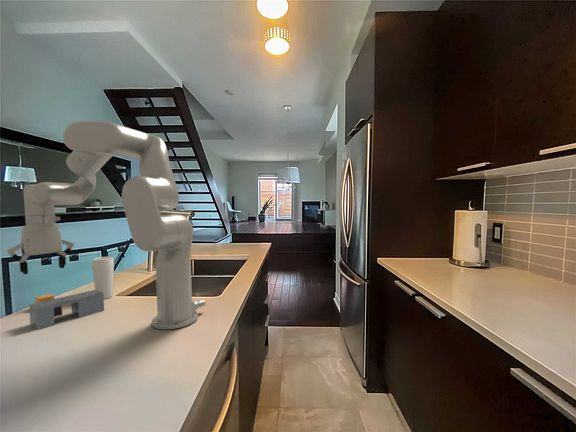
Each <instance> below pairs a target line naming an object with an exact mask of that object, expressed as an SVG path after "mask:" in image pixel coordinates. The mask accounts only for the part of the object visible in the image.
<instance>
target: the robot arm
mask: <svg viewBox="0 0 576 432" xmlns="http://www.w3.org/2000/svg"><path fill="white" fill-rule="evenodd" d="M62 138H63V143H64V144H65V146H66V147H67V148H68V149H69V150H71V151H72V152H70V154H69V155H68V156H67V157H66V159H65V160H66V161H65V162H66V166H67V167H68V169H70V170H71V172H73V173H74V174H76V175H77V176H79V178H78V179H77V180H76V181H75V182H74V183H69V182H55V181H52V182H51V181H44V182H39V183H36V184H35V183H34V184H33V183H32V184H31V183H30V184H25V185H24V186H23V201H24V203H23V204H24V215H25V216H24V218H25V225H22V227H21V233H20V235H21V236H20V243H19V244H17V245H14V246H13V247H10V248H8V249H6V253H8V255H9V256H10V257H11V258H12V259H14V260H15V261H17V262H19V271H20V273H22V274H23V275H27V274H29V268H28V261H26V260H28V259H29V257H31V256H39V255H45V254H52V253H56V254H57V255H59V256H58V267H59V268H60V269H64V268H65V266H66V265H67V263H66V262H67V260H66V257H67V255H68V254H69V253H70V252H71V251H72V249H73V247H74V245H75V244H74V242H72V241H67V240H64V239H62V235H61V231H60V227H59V224H58V223H57V222H58V221H61V216H56V214H55V212H56V211H55V206H76V205H80V204H82V203H83V202H85V201H86V200H87V199H88V198H90V196H91V195H92V194H93V193H94V191H95V189H96V185H97V176H96V174H97V173H98V172H99V171H100V170H101V168H103V166H104V165H106V163H107V162H108V161H109V160H110V159H111V158H112V157H114V156H119V157H123V158H130V159H135V160H136V159H137V160H140V161H139V165H138V169H139V174H140V175H137V176H133V177H130V178H129V179H128V180H126V181H125V183H124V185H123V187H122V191H121V202H122V207H123V210H124V213H125V218H126V221H127V225H128V228H129V229H128V230H129V232H130V236H131V239H132V240H133V242H134V245H136V247H137V248H138V249H140V250H141V251H144V252H156V251H158V253H157V254H156V259H155V283H156V285H155V286H156V307H157V308H156V311H157V315H156V316H154V317H153V318H152V320H151V326H152V327H153V328H155V329H157V330H175V329H180V328H184V327H187V326H189V325H191V324H193V323H195V322H196V321H197V320H198V317H199V313H198V312H197V310H198V309H199V308H202V307H204V306H206V301H205V299H202V300H199V301H197V300H193V297H192V296H193V295H192V265H191V264H192V263H191V262H192V261H191V260H192V259H191V258H192V256H191V255H192V254H191V253H192V245H193V244H192V243H193V237H194V228H193V225H192V223H191V221H190V219H188V217H186V216H185V215H182V214H178V213H177V214H176V213H170V214H169V213H167V214H166V213H165V214H164V213H163V214H160V212H163V211H164V212H167V211H170V210H173V209H175V208H177V206H178V205H179V202H180V196H179V191H178V187H177V183H176V180H175V177H174V173H173V170H172V167H171V163H170V158H169V151H168V148H167V145H166V143H165V142H164V141H163V139H162V138H161V137H160V136H157V135H154V134H151V133H148V132H147V133H146V132H145V131H144V132H143V131H141V130H137V129H133V128H131V127H127V126H126V125H122V124H119V123H115V122H111V121H101V120H99V121H95V120H94V121H89V120H87V121H86V120H84V121H81V120H79V121H74V122H72V123H70V124H69V125H68V126H66V127H65V129H64V132H63V134H62ZM63 245H66V248H65V249H64V250H63ZM18 250H20V252H21V256H19V255H18V254H17V253H16V251H18Z"/></svg>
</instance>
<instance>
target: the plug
mask: <svg viewBox="0 0 576 432" xmlns="http://www.w3.org/2000/svg"><path fill="white" fill-rule="evenodd" d="M52 299H55V295H54V294H52V293H46V294H41V295H36V296H35V297H34V301H35V302H34V304H35V303H39V302H43V301H48V300H52ZM62 315H63V306H59V307H55V308H54V318H55V317H59V316H62Z"/></svg>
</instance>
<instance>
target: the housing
mask: <svg viewBox="0 0 576 432" xmlns="http://www.w3.org/2000/svg"><path fill="white" fill-rule="evenodd" d="M104 300H105V299H104V295H103V292H101V291H98V290H95V289H93V290H89V291H84V292H79V293H75V294H71V295H66V296H61V297H57V298H54V299H52V300H48V301H43V302H39V303H35V302H34V303H31V304H29V305H28V306H29V320H30V321H29V322H30V326H31V327H32V328H33V329H35V330H36V331H37V330H40V329H44V328H48V327H51V326H55V317H54V308H55V307H59V306H62V307H63V306H66V305H70V304H71V314H72V315H74V316H75V317H77V318H82V317H85V316H89V315H93V314H96V313H99V312H100V313H101V312H103V311H105V301H104Z"/></svg>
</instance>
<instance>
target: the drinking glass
mask: <svg viewBox="0 0 576 432" xmlns="http://www.w3.org/2000/svg"><path fill="white" fill-rule="evenodd" d="M91 265H92V267H91V268H92V275H93V276H92V277H93V282H94V290H98V291H101V292H103V295H104V300H106V299H110V298H112V297H113V294H114V290H113V289H114V288H113V287H114V273H115V272H114V271H115V270H114V269H115V260H114V257H113V256H100V257H99V256H98V257H94V258H92V261H91Z"/></svg>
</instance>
